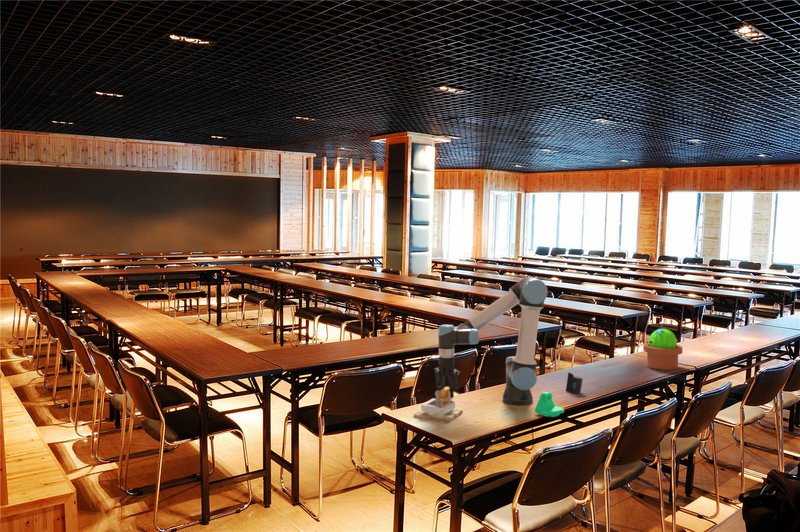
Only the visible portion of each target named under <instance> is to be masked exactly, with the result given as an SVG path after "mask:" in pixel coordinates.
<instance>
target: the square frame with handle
mask: <svg viewBox="0 0 800 532" xmlns="http://www.w3.org/2000/svg"><path fill="white" fill-rule="evenodd" d="M449 391H450V388H449V386H444V388H443V389H441V406H436V398H431V399H429V400H428V401H425V402H424V403H422V404H421V405H420V410H421V411H424V412H430V413H436V414H443V415H445V414H446V413H448V412H449V411H451V410H452V409H456V401H453V400H452V401H449V398H448V392H449Z"/></svg>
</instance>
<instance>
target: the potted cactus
mask: <svg viewBox="0 0 800 532" xmlns="http://www.w3.org/2000/svg"><path fill="white" fill-rule="evenodd" d="M642 350H643V352H645V353H646V354H647V355H646V365H647V367H648V368H650V369H654V370H658V371H659V370H660V371H673V370H677V369H678V368H679V355H682V354H683V346H682V345H680V344H678V339H677V337H676V335H675V334H674V333H673V331H671V330H670V329H667V328H657V329H656V330H654V331H653V332H652V333H651V334H650V336H649V338H648V342H646V343H645V342H644V343H643V346H642Z"/></svg>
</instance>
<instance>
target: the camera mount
mask: <svg viewBox="0 0 800 532" xmlns="http://www.w3.org/2000/svg"><path fill="white" fill-rule="evenodd" d="M534 413H535V414H537V415H541V416H544V417H551V418H554V417H559V416H560V414H563V413H565V409H564V407H563V408H562V407H560V406H558V405H556V404H555V402H554V399H553V394H552V393H550V392H548V391H542V393H541V395H540V396H539V398H538V401H537V404H536V406H535V409H534Z"/></svg>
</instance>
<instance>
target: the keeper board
mask: <svg viewBox="0 0 800 532" xmlns="http://www.w3.org/2000/svg"><path fill="white" fill-rule="evenodd" d="M434 395H435V399H436V406H441V391H440V389H438V390H436V391H435V392H434ZM461 413H462V414H464V413H463V409H456V408H454V409H452V410H451V411H449V412H448V413H446V414H445V415H443V414H436V413H430V412H424V411H421V409H420V410H418V411H416V412H415V413H413V418H418V419H423V420H429V419H430V421H435V420H436V422H440V421H443V422H442V423H446V422H447V424H448V423H450V422H452V421H453V420H454V418H455V419H456V418H458V417H459V416H460V415H462V414H461ZM457 416H458V417H457ZM451 420H452V421H451Z"/></svg>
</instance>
